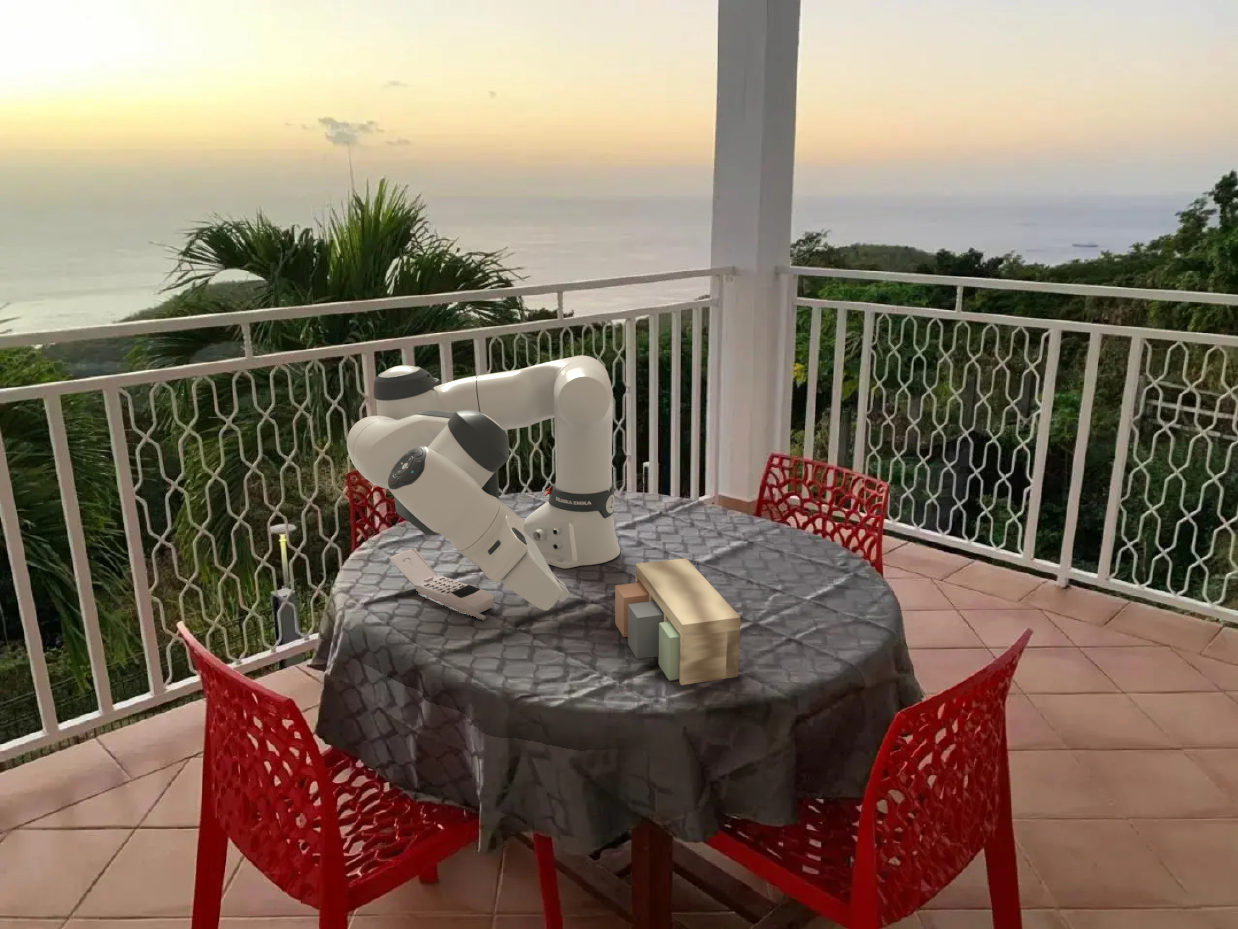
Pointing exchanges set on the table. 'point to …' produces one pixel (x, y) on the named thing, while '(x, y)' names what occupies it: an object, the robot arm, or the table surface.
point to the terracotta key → (624, 597)
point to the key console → (694, 619)
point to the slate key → (644, 628)
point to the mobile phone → (442, 585)
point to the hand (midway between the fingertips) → (564, 594)
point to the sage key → (669, 650)
